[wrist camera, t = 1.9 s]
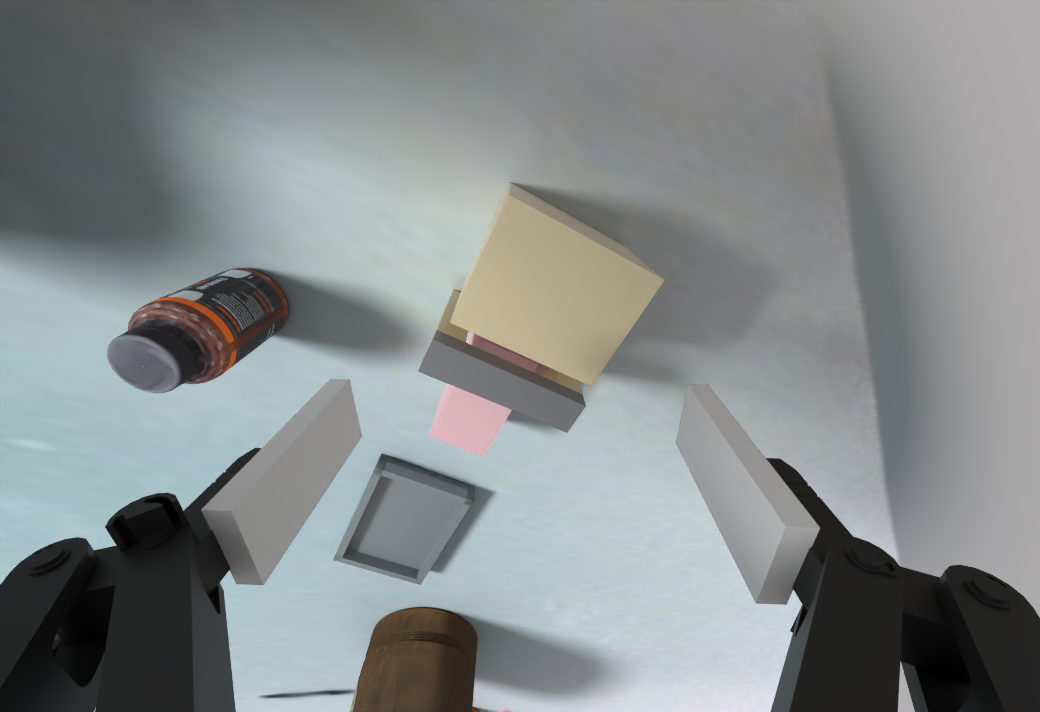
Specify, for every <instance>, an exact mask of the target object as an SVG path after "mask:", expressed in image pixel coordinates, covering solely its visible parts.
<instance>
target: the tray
mask: <svg viewBox="0 0 1040 712" xmlns="http://www.w3.org/2000/svg"><path fill="white" fill-rule="evenodd" d="M474 491H475V487H474V486H471V485H468V484H465V483H462V482H459V481H457V480H454V479H451V478H448V477H445V476H443V475H440V474H437V473H434V472H431V471H428V470H426V469H423V468H420V467H417V466H414V465H412V464H409V463H406V462H403V461H400V460H398V459H395V458H392V457H389V456H386V455H383V454H381V456H380V458H379V460H378V462H377V465H376V467H375V469H374V471H373V473H372V476H371V478H370V480H369V482H368V484H367V487H366V489H365V491H364V493H363V495H362V498H361V500H360V502H359V504H358V506H357V508H356V511H355V513H354V515H353V517H352V519H351V522H350V524H349V526H348V528H347V530H346V533H345V535H344V537H343V539H342V541H341V544H340V546H339V548H338V550H337V553H336V555H335V557H334V559H333V560H335V561H339V562H342V563H346V564H349V565H353V566H356V567H360V568H363V569H367V570H370V571H374V572H377V573H381V574H384V575H388V576H391V577H395V578H398V579H402V580H405V581H409V582H412V583H416V584H419V585H421V583H422V582H423V580H424V578H425V577H426V575H427V574H428V572H429V571H430V569H431V567H432V566H433V564H434V563H435V561H436V559H437V558H438V556H439V555H440V553H441V552H442V550H443V548H444V547H445V545H446V544H447V542H448V541H449V539H450V537H451V536H452V534H453V533H454V531H455V530H456V528H457V526H458V525H459V523H460V522H461V520H462V518H463V517H464V515H465V514H466V512H467V511H468V509H469V507H470V506H471V504H472V503H473V500H474Z"/></svg>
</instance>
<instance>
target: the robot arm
mask: <svg viewBox="0 0 1040 712" xmlns="http://www.w3.org/2000/svg"><path fill="white" fill-rule="evenodd" d="M361 437H362V434H361V430H360V425H359V421H358V416H357V411H356V407H355V402H354V398H353V393H352V389H351V384H350V380H349V379H330V380H329V381H328V382H327V383H326V384H325V385H324V386H323V387H322V388H321V389H320V390H319V391H318V392H317V393H316V394H315V395H314V396H313V397H312V398H311V399H310V400H309V401H308V402H307V403H306V404H305V405H304V406H303V407H302V408H301V409H300V410H299V411H298V412H297V413H296V414H295V415H294V416H293V417H292V418H291V419H290V420H289V421H288V423H287V424H286V425H285V426H284V427H283V428H282V429H281V430H280V431H279V432H278V433H277V434H276V435H275V436H274V437H273V438H272V439H271V440H270V441H269V442H268V443H267V444H266V445H265V446H264V447H263V448H254V449H253V450H251V451H249V452H248V453H246V454H245V455H243V456H241V457H240V458H238V459H237V460H236V461H235V462H234V463H233V464H232V465H231V466H230V467H229V468H228V469H227V470H226V472H225V473H223V474H221V475H220V476H219V477H218V478H217V479H216V482H215V483H212V484H211V485H210V486H209V487H208V488H207V489H206V490H205V491H204V492H203V493H202V494H201V495H200V496H199V497H198V498H197V499H196V500H195V501H193V502H192V503H191V504H190V505H189V506H188V507H187V508H186V509H185V510H184V511H183V509H182V507H181V505H180V503H179V502H178V500H177V498H176V496H175V495H173V494H170V493H157V494H154V495H150V496H146V497H143V498H141V499H139V500H136V501H134V502H132V503H130V504H128V505H127V506H125V507H124V508H122V509H120V510H119V511H118V512H117V513H116V514H114V515H113V516H112V517H111V518H110V519H109V521H108V523H107V525H106V526H105V528H106V529H107V531H108V532H109V534H110V535H111V537H112V539H113V540H114V542H115V543H116V545H117V546H113V547H108V548H104V549H99V550H93V549H92V547H91V546H90V544H89V543H88V541H87V540H86V539H84V538H78V537H76V538H70V539H65V540H62V541H59V542H56V543H53V544H50V545H48V546H46V547H44V548H41V549H40V550H38V551H36V552H34V553H33V554H32V555H30V556H29V557H27V558H26V559H24V560H23V561H21V562H20V563H19V564H18V565H17V566H16V567H15V568H14V569H13V570H12V571H11V572H10V573H9V575H8V576H7V577H6V578H5V580H4V581H3V582H2V583H1V585H0V712H94V710H95V707H96V710H95V712H236V711H235V701H234V691H233V681H232V671H231V661H230V651H229V641H228V631H227V621H226V611H225V600H224V591H223V589H222V587H221V585H220V581H221V580H222V579H223V577H224V576H225V575H226V574H227V572H228V571H229V570H230V571H231V573H232V576H233V578H234V580H235V582H236V584H250V585H264V584H265V582H266V581H267V579H268V578H269V576H270V575H271V573H272V572H273V570H274V569H275V567H276V566H277V564H278V563H279V561H280V560H281V558H282V557H283V555H284V554H285V552H286V551H287V549H288V548H289V546H290V545H291V543H292V541H293V540H294V538H295V537H296V535H297V534H298V532H299V531H300V529H301V528H302V526H303V525H304V523H305V522H306V520H307V519H308V517H309V516H310V514H311V513H312V511H313V510H314V508H315V507H316V505H317V504H318V502H319V501H320V499H321V498H322V496H323V495H324V493H325V492H326V490H327V489H328V487H329V486H330V484H331V482H332V481H333V479H334V478H335V476H336V475H337V473H338V472H339V470H340V469H341V467H342V466H343V464H344V463H345V461H346V460H347V458H348V457H349V455H350V454H351V452H352V451H353V449H354V448H355V446H356V445H357V443H358V442H359V440H360V439H361ZM676 444H677V446H678V448H679V450H680V452H681V454H682V456H683V458H684V460H685V462H686V464H687V466H688V468H689V470H690V472H691V474H692V476H693V478H694V480H695V482H696V484H697V486H698V488H699V490H700V492H701V494H702V496H703V498H704V500H705V502H706V504H707V506H708V508H709V510H710V512H711V514H712V516H713V518H714V520H715V522H716V524H717V526H718V528H719V530H720V532H721V534H722V536H723V538H724V540H725V542H726V544H727V546H728V548H729V550H730V552H731V554H732V556H733V558H734V560H735V562H736V564H737V566H738V568H739V570H740V572H741V574H742V576H743V578H744V580H745V582H746V584H747V586H748V588H749V590H750V592H751V594H752V596H753V598H754V600H755V602H756V603H759V604H787V602H788V600H789V597H790V595H791V593H792V591H793V589H794V591H795V593H796V594H797V596H798V597H799V599H800V601H801V602H802V604H803V605H802V607H801V609H800V611H799V613H798V615H797V617H796V620H795V622H794V624H793V626H792V628H791V630H790V631H791V632H793V635H792V639H791V642H790V646H789V649H788V653H787V656H786V660H785V663H784V667H783V670H782V674H781V677H780V681H779V684H778V688H777V691H776V695H775V698H774V702H773V705H772V709H771V712H898V694H899V675H900V661H901V663H902V667H903V670H904V674H905V677H906V681H907V684H908V688H909V692H910V695H911V699H912V702H913V706H914V709H915V712H1040V618H1039V616H1038V615H1037V613H1036V611H1035V610H1034V608H1033V607H1032V606H1031V604H1030V603H1029V602H1028V601H1027V600H1026V599H1025V597H1024V596H1022V595H1021V594H1020V593H1019V592H1017V591H1016V590H1015V589H1014V588H1012V587H1011V586H1010V585H1008V584H1007V583H1005V582H1003V581H1002V580H1000V579H998V578H997V577H995V576H993V575H991V574H988V573H986V572H984V571H981V570H979V569H976V568H973V567H968V566H963V565H954V566H949V567H948V569H946V570H945V572H944V573H943V575H942V576H941V577H936V576H933V575H929V574H925V573H922V572H918V571H914V570H910V569H907V568H903V567H900V566H899V565H898V563H897V562H896V561H895V560H894V559H893V558H892V557H891V556H890V555H889V554H887V553H886V552H885V551H884V550H882V549H881V548H879V547H877V546H875V545H873V544H872V543H870V542H867V541H865V540H862V539H859V538H856V537H853V536H852V535H851V534H850V533H849V531H848V530H847V529H846V528H845V527H844V526H843V524H842V523H841V522H840V521H839V520H838V519H837V517H836V516H835V515H834V514H833V513H832V511H831V510H830V509H829V508H828V507H827V506H826V504H825V503H824V502H823V501H822V500H821V499H820V497H817V494H816V493H815V492H814V490H813V489H812V488H811V487H810V486H808V483H807V482H806V481H805V480H804V479H803V477H802V476H801V475H800V474H799V473H798V472H797V470H795V469H794V468H792V467H791V466H790V465H788V464H787V463H785V462H784V461H782V460H781V459H775V458H765V457H764V455H763V454H762V453H761V452H760V450H759V449H758V448H757V446H756V445H755V444H754V443H753V441H752V440H751V439H750V437H749V436H748V435H747V434H746V432H745V431H744V430H743V429H742V427H741V426H740V425H739V423H738V422H737V421H736V420H735V418H734V417H733V416H732V414H731V413H730V412H729V411H728V409H727V408H726V407H725V406H724V404H723V403H722V402H721V400H720V399H719V398H718V397H717V395H716V394H715V393H714V391H713V390H712V389H711V388H710V386H709V385H706V384H688V385H687V390H686V395H685V400H684V405H683V410H682V415H681V420H680V425H679V430H678V435H677V440H676Z"/></svg>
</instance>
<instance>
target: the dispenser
mask: <svg viewBox="0 0 1040 712" xmlns="http://www.w3.org/2000/svg"><path fill="white" fill-rule="evenodd" d="M664 281H665V280H664V279H663V278H662V277H660V276H659V275H658V274H657V273H656V272H654V271H653V270H652V269H651V268H650V267H648V266H647V265H646V264H645V263H644V262H642V261H641V260H640V259H639V258H638V257H636V256H635V255H634V254H633V253H632V252H631V251H629V250H628V249H627V248H626V247H625V246H623V245H622V244H620V243H619V242H617V241H615V240H613V239H611V238H610V237H608V236H606V235H604V234H602V233H601V232H599V231H597V230H595V229H593V228H592V227H590V226H588V225H586V224H585V223H583V222H581V221H579V220H577V219H576V218H574V217H572V216H570V215H568V214H567V213H565V212H563V211H561V210H559V209H558V208H556V207H554V206H552V205H550V204H549V203H547V202H545V201H543V200H541V199H540V198H538V197H536V196H534V195H532V194H531V193H529V192H527V191H525V190H523V189H522V188H520V187H518V186H516V185H514V184H513V183H511V182H510V183H509V185H508V188H507V190H506V192H505V194H504V196H503V198H502V201H501V203H500V205H499V207H498V209H497V211H496V214H495V216H494V218H493V220H492V222H491V224H490V227H489V229H488V231H487V233H486V235H485V237H484V240H483V242H482V244H481V246H480V248H479V250H478V253H477V255H476V257H475V259H474V261H473V263H472V266H471V268H470V270H469V272H468V274H467V277H466V279H465V282H464V285H463V288H462V290H461V292H459V291H457V290H453V292H452V295H451V297H450V299H449V301H448V303H447V306H446V308H445V310H444V312H443V314H442V317H441V319H440V321H439V324H438V326H437V328H436V331H435V333H434V335H433V338H432V340H431V343H430V345H429V347H428V350H427V352H426V354H425V357H424V359H423V361H422V364H421V366H420V368H419V372H421V373H424V374H426V375H428V376H431V377H433V378H436V379H438V380H440V381H443V382H445V383H448V384H450V385H453V386H455V387H457V388H460V389H462V390H465V391H467V392H470V393H472V394H474V395H477V396H479V397H482V398H484V399H487V400H489V401H491V402H494V403H496V404H499V405H501V406H504V407H506V408H508V409H511V410H513V411H516V412H518V413H521V414H523V415H525V416H528V417H530V418H533V419H535V420H537V421H540V422H542V423H545V424H547V425H550V426H552V427H554V428H557V429H559V430H562V431H564V432H568V431H569V429H570V428H571V426H572V425H573V424H574V422H575V421H576V419H577V418H578V416H579V415H580V414H581V412H582V411H583V409H584V408H585V407H586V405H585V402H584V398H583V395H582V391H581V388H580V385H579V381H581V382H583V383H585V384H587V385H589V386H592V385H593V383H594V382H595V380H596V379H597V377H598V376H599V374H600V373H601V372H602V370H603V369H604V367H605V366H606V364H607V363H608V361H609V360H610V359H611V357H612V356H613V354H614V353H615V351H616V350H617V348H618V347H619V346H620V344H621V343H622V341H623V340H624V338H625V337H626V335H627V334H628V333H629V331H630V330H631V328H632V327H633V325H634V324H635V322H636V321H637V320H638V318H639V317H640V315H641V314H642V312H643V311H644V310H645V308H646V307H647V305H648V304H649V302H650V301H651V299H652V298H653V297H654V295H655V294H656V292H657V291H658V289H659V288H660V286H661V285H662V284H663V282H664ZM468 331H470V332H472V333H474V334H476V335H478V336H481V337H483V338H485V339H487V340H490V341H492V342H494V343H496V344H498V345H501V346H503V347H505V348H507V349H510V350H512V351H514V352H516V353H518V354H521V355H523V356H525V357H527V358H530V359H532V360H534V361H536V362H538V363H539V366H538V367H537V369H536V373H537V374H536V373H534V372H531V371H529V370H527V369H525V368H522V367H520V366H518V365H515V364H513V363H511V362H509V361H506V360H504V359H502V358H500V357H497V356H495V355H493V354H491V353H488V352H486V351H484V350H482V349H479V348H477V347H475V346H473V345H470V344H468V343H466V337H467V333H468Z"/></svg>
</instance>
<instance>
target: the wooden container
mask: <svg viewBox="0 0 1040 712" xmlns="http://www.w3.org/2000/svg"><path fill="white" fill-rule="evenodd" d="M476 651H477V636H476V633H475V631H474V629H473V628H472V626H471V625H470V624H469V623H468V622H466V621H465V620H464V619H462V618H461V617H459V616H457V615H454V614H452V613H449V612H446V611H442V610H438V609H431V608H411V609H405V610H401V611H397V612H394V613H392V614H389V615H387V616H386V617H384V618H383V619H382V620H380V621H379V622H378V623H377V625H376V626H375V628H374V631H373V634H372V637H371V640H370V643H369V647H368V650H367V654H366V658H365V661H364V663H363V666H362V670H361V673H360V677H359V680H358V684H357V687H356V691H355V694H354V698H353V702H352V705H351V709H350V712H472V703H473V690H474V676H475V663H476Z"/></svg>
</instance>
